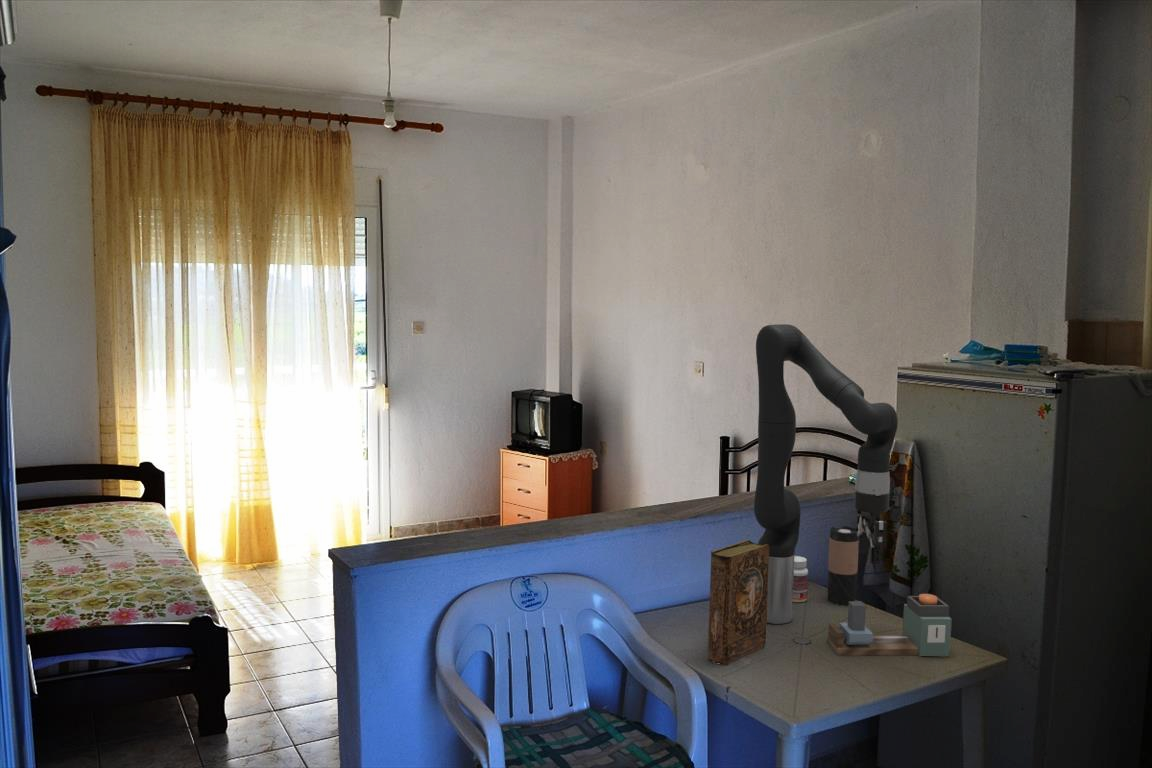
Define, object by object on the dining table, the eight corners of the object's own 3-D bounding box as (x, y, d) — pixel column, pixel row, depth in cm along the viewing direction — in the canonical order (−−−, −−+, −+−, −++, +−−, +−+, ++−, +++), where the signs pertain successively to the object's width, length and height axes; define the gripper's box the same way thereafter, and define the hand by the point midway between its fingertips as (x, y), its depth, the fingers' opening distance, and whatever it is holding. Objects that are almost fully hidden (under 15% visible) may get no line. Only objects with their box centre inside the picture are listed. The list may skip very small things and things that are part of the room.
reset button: (923, 607, 212) (923, 599, 212) (915, 601, 216) (916, 593, 216) (939, 607, 213) (940, 599, 212) (932, 601, 217) (932, 593, 216)
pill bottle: (811, 600, 247) (813, 559, 246) (796, 604, 244) (797, 563, 243) (794, 593, 252) (796, 554, 251) (779, 597, 249) (780, 557, 248)
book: (724, 666, 203) (727, 557, 201) (704, 659, 207) (707, 552, 204) (765, 647, 215) (769, 543, 212) (746, 640, 219) (750, 539, 216)
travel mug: (851, 608, 242) (855, 534, 239) (822, 602, 246) (826, 530, 243) (859, 600, 248) (862, 528, 246) (831, 594, 252) (834, 524, 250)
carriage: (849, 647, 211) (851, 608, 210) (838, 635, 218) (840, 598, 217) (872, 647, 211) (874, 608, 210) (861, 635, 218) (863, 598, 217)
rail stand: (837, 655, 210) (838, 634, 210) (826, 642, 218) (827, 621, 218) (918, 654, 211) (919, 634, 211) (903, 641, 219) (904, 621, 219)
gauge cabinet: (920, 657, 210) (923, 609, 209) (902, 639, 220) (904, 593, 219) (950, 657, 210) (953, 609, 209) (930, 639, 221) (932, 593, 220)
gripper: (846, 482, 216) (843, 549, 218) (866, 496, 202) (863, 567, 204) (877, 483, 216) (874, 549, 218) (899, 496, 202) (896, 567, 204)
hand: (869, 558), depth 211 cm, fingers open, 8 cm apart
